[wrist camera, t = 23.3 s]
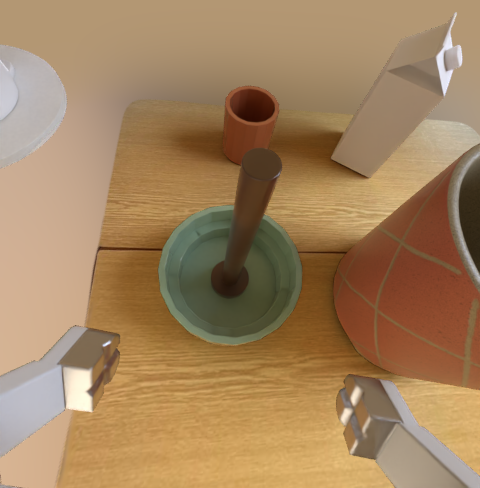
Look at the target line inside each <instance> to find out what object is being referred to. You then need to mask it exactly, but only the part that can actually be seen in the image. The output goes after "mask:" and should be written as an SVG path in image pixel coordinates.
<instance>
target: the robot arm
mask: <svg viewBox="0 0 480 488" xmlns="http://www.w3.org/2000/svg"><path fill="white" fill-rule="evenodd" d="M14 76H15V68H14V66H13V65H12V64H11V63H10V62H9V61H6V60H2V59H0V121H1V120H2V119H3V118H5V117H6V116H7V115H8V114H9V113H10V112H11V111H12V110H13V108H14V107H15V105H16V103H17V100H18V88H17V86H16V84H15V81H14ZM119 343H120V335H119V334H117V333H113V332H108V331H103V330H98V329H93V328H86V327H81V326H76V325H75V326H73V327H71V328H70V329H69V330H68V331H67V332H66V333H65V334H64V335H63V336H62V337H61V338H60V339H59V340H58V342H56V344H55V345H54V346H53V347H52V348H51V349H50V350H49V351H48V352H47V353H46V354H45V355H44V356H43V357H42V358H41V359H40V360H39V361H32V362H30V363H27V364H25V365H23V366H21V367H19V368H17V369H14V370H12V371H10V372H8V373H5V374H3V375H1V376H0V458H1V457H3V456H4V455H5V454H7V453H8V452H9V451H11V450H12V449H13V448H15V447H16V446H17V445H19V444H20V443H21V442H23V441H24V440H26V439H27V438H28V437H30V436H31V435H32V434H34V433H35V432H36V431H38V430H39V429H40V428H42V427H43V426H44V425H46V424H47V423H48V422H50V421H51V420H52V419H54V418H55V417H57V416H58V415H59V414H61V413H62V412H63V411H65V409H72V410H80V411H87V412H93V411H94V409H95V408H96V406H97V404H98V403H99V401H100V399H101V397H102V396H103V394H104V385H106V384H107V383H109V382H110V381H111V380H112V378H113V376H114V375H115V372H116V370H117V367H118V364H119V359H120V352H119V351H118V349H117V347H118V345H119ZM344 384H345V387H344V388H343V389H341V390H340V391H339V393H338V395H337V400H336V409H337V415H338V418H339V420H340V422H341V423H342V424H343V425H344V426H345V427H346V428H345V430H344V433H343V434H344V437H345V440H346V444H347V447H348V450H349V453H350V455H354V456H359V457H364V458H369V459H374V460H376V463H377V464H378V465H379V467H380V468H381V469H382V471H383V472H384V473H385V475H386V476H387V477H388V479H389V480H390V481H391V483H392V484H393V485H394V487H395V488H480V476H479V475H478V474H477V473H476V472H475V471H473V470H472V469H471V468H470V467H469V466H468V465H467V464H465V463H464V462H463V461H462V460H461V459H460V458H459V457H457V456H456V455H455V454H454V453H453V452H452V451H451V450H449V449H448V448H447V447H446V446H445V445H444V444H443V443H441V442H440V441H439V440H438V439H437V438H436V437H435V436H433V435H432V434H431V433H430V432H429V431H428V430H427V429H425V428H424V427H421V426H419V425H418V423H417V421H416V420H415V418H414V416H413V415H412V413H411V411H410V409H409V408H408V406H407V404H406V403H405V401H404V399H403V398H402V396H401V394H400V392H399V391H398V389H397V387H396V386H395V384H394V383H393V382H392V381H389V380H382V379H375V378H370V377H364V376H358V375H352V374H349V375H347V376H346V378H345V380H344ZM0 488H21V487H15V486H8V485H1V476H0Z"/></svg>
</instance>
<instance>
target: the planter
mask: <svg viewBox="0 0 480 488" xmlns="http://www.w3.org/2000/svg"><path fill="white" fill-rule="evenodd" d="M333 297H334V304H335V308H336V312H337V315H338V318H339V320H340V323H341V325H342V327H343V329H344V331H345V332H346V334H347V336H348V337H349V339H350V341H351V342H352V344H353V346H354V348H355V350H356V351H357V352H358V353H359V354H360V355H362V356H363V357H364V358H365V359H367V360H368V361H370V362H371V363H373V364H375V365H376V366H378V367H380V368H382V369H385V370H387V371H389V372H392V373H394V374H397V375H400V376H404V377H408V378H413V379H419V380H425V381H431V382H436V383H442V384H448V385H454V386H460V387H465V388H471V389H476V390H480V144H478V145H476V146H474V147H472V148H471V149H470V150H468V151H467V152H465V153H464V154H463V155H462V156H460V157H459V158H458V159H457V160H456V161H454V162H453V163H452V164H451V165H450V166H448V167H447V168H446V169H445V170H444V171H442V172H441V173H440V174H439V175H438V176H436V177H435V178H434V179H433V180H432V181H430V182H429V183H428V184H427V185H425V186H424V187H423V188H422V189H421V190H419V191H418V192H417V193H416V194H415V195H413V196H412V197H411V198H410V199H408V200H407V201H406V202H405V203H404V204H402V205H401V206H400V207H399V208H398V209H397V210H395V211H394V212H393V213H392V214H391V215H390V216H389V217H387V218H386V219H385V220H384V221H383V222H382V223H380V224H379V225H378V226H377V227H376V228H374V229H373V230H372V231H371V232H370V233H368V234H367V235H366V236H365V237H364V238H363V239H361V240H360V241H359V242H358V243H357V244H355V245H354V246H353V247H352V248H351V249H350V250H349V251H348V252H347V253H346V254H345V256H344V257H343V258H342V259H341V261H340V262H339V265H338V267H337V270H336V274H335V278H334V284H333Z"/></svg>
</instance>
